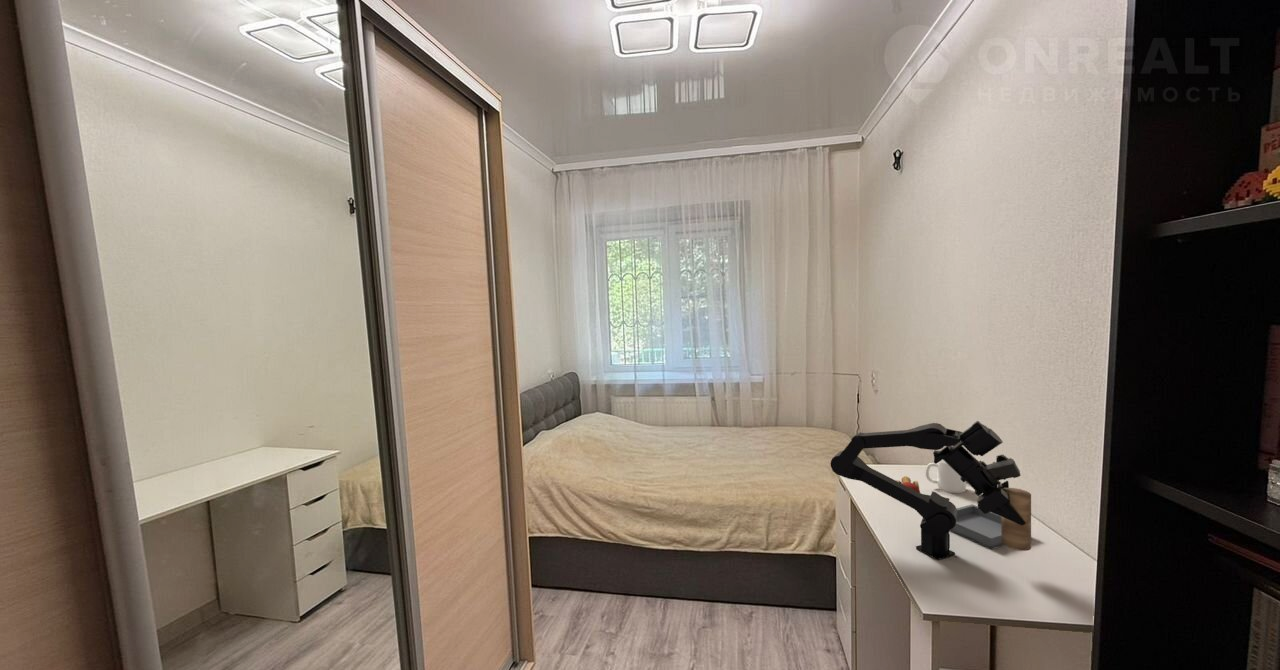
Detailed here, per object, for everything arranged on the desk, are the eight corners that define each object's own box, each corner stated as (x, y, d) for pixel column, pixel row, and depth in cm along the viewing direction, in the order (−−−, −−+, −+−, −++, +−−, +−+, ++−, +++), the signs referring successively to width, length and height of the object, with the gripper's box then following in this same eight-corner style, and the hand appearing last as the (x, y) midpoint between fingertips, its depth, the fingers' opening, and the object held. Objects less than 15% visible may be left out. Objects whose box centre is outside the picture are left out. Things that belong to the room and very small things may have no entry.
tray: (991, 549, 123) (991, 538, 123) (934, 523, 138) (934, 514, 138) (1030, 536, 129) (1030, 526, 128) (972, 513, 144) (972, 504, 143)
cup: (969, 494, 157) (969, 465, 157) (928, 491, 161) (928, 462, 161) (961, 485, 165) (961, 457, 165) (922, 482, 169) (922, 455, 169)
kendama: (891, 486, 171) (894, 498, 154) (894, 469, 170) (897, 479, 154) (915, 493, 167) (920, 506, 151) (919, 476, 167) (924, 487, 151)
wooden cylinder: (1021, 552, 109) (1021, 498, 108) (995, 541, 114) (995, 490, 114) (1036, 547, 111) (1036, 494, 110) (1011, 537, 116) (1011, 486, 116)
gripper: (995, 458, 106) (1060, 516, 100) (995, 438, 121) (1051, 487, 115) (954, 485, 112) (1013, 542, 106) (958, 462, 126) (1010, 511, 120)
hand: (1023, 519), depth 111 cm, fingers closed on wooden cylinder, 6 cm apart
